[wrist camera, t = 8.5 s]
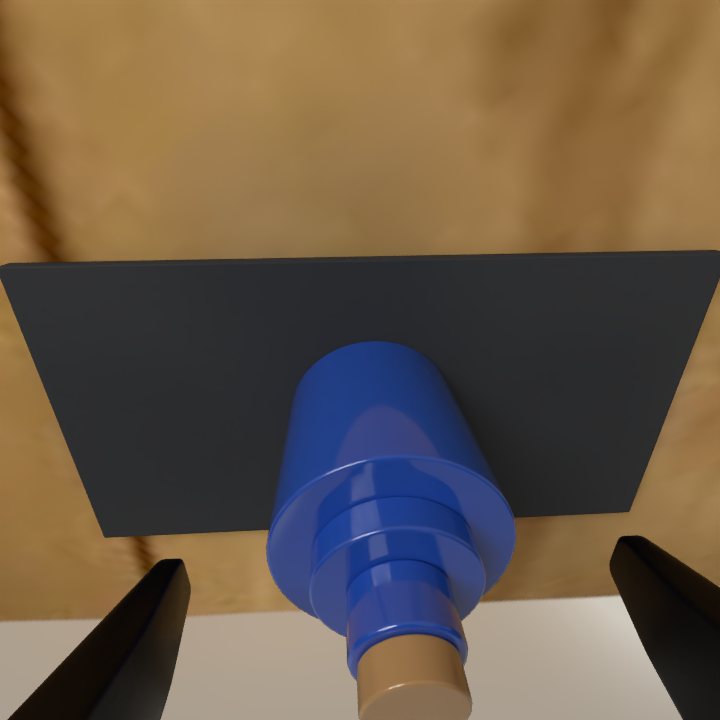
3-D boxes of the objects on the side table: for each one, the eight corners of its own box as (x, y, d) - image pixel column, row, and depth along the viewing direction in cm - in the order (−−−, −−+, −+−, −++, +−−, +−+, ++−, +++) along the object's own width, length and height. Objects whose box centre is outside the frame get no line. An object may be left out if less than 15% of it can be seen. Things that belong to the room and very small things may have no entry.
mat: (110, 527, 15) (103, 538, 15) (8, 262, 11) (-6, 266, 11) (621, 503, 16) (629, 512, 16) (715, 249, 12) (731, 252, 11)
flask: (297, 478, 14) (258, 803, 7) (284, 342, 12) (206, 617, 5) (444, 472, 14) (552, 780, 7) (459, 337, 12) (638, 592, 5)
